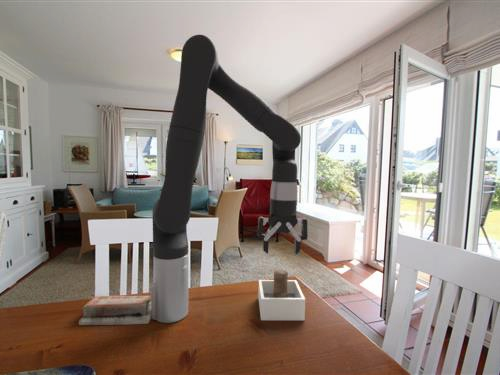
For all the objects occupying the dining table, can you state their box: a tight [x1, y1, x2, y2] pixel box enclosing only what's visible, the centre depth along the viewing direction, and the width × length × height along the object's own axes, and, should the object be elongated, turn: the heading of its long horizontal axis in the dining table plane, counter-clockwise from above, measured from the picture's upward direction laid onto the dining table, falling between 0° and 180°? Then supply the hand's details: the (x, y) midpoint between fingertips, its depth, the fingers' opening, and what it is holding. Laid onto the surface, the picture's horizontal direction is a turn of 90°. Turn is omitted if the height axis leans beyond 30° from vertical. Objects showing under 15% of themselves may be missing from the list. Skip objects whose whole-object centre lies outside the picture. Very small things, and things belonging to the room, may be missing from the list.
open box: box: [257, 279, 306, 321], centre depth 77 cm, size 12×12×6 cm
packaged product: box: [78, 295, 152, 326], centre depth 73 cm, size 18×5×10 cm
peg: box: [273, 269, 289, 298], centre depth 77 cm, size 4×4×11 cm
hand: (281, 253), depth 76 cm, fingers open, 8 cm apart
